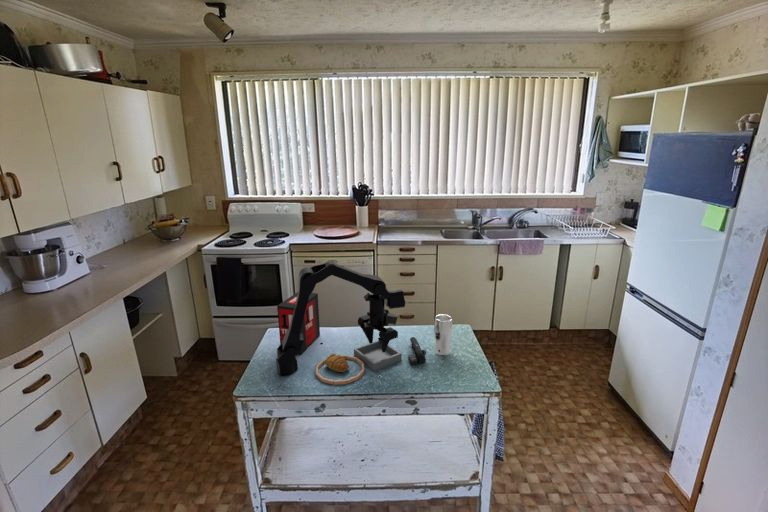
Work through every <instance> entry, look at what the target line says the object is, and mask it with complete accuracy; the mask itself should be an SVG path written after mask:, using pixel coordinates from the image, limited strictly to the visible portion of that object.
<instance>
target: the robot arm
mask: <svg viewBox="0 0 768 512" xmlns="http://www.w3.org/2000/svg"><path fill="white" fill-rule="evenodd" d="M331 276H334V277H336V278H339V279H341V280H344V281H347V282H349V283H352V284H355V285H358V286H360V287H362V288H364V289H365V290H366V291H367V293H366V294H365V295H364V296H363V299H364V301H365V302H368V303H369V304H368V306H369V308H368V309H369V310H368V311H367V312H366V315H362V316H359V317H358V319H357V325H358V326H359V328H361V330H362V331H363V333H364V335H365V337H366V339H367V341H368V344H369V343H370V344H371V343H373V342H374V330H375V331H376V330H377V331H378V332H379V333H378V337H377V338H378V340H379V343H380V346H381V350H382V352H385V351H386V348H387V346H388V345H389V343H390V341H391V340H395V339H398V337H399V331H397V330H396V329H394V328H392V327H391V326H389V325H394V326H395V325H396V324H397V322H398V321H397V320H398V319H399V318H398V316H397V315H396V314H395V313H394V314H393V313H391V312H389V310H392V309H393V310H394V309H400V308H405V306H406V300H405V295H404V291H403V290H402V289H397V290H389V289H388V288H387V284H386V283H385V281H384V280H383V279H382V278H381V277H380V276H378V275H373V274H365V273H362V272H359V271H358V272H357V271H355V270H352V269H351V268H349V267H345V266H342V265H340V264H337V263H335V262H334V261H330V260H329V261H327V262H324V263H320V264H316V265H313V266H310V267H303V268H302V269H300V270H299V272H298V282H297V283H298V285H297V286H298V289H297V290H298V291H297V292H298V295H297V299H296V303H295V308H294V312H293V316H292V320H291V324H290V327H289V329H288V331H287V332H286V334H285V336H284V339H283V341H282V344H281V345H280V344H279V346H278V347H277V349H276V358H275V361H276V363H275V364H276V373H277V374H278V375H279V377H288V376H292V375H293V374H295V372H297V371H298V368H299V367H298V359H297V358H296V356H299V355H298V353H299V350H300V351H301V346H302V344H303V341H304V340H303V334H302V333H300V331H301V327H302V323H303V319H304V315H305V311H306V307H307V303H308V299H309V296H310V295H311V293H314V289H315V287H316V285H317V284H319V283H321V282H323V281H324V280H326V279H327V278H330V277H331ZM385 307H386V308H387V307H388V309H389V310H388V309H386V308H385ZM388 326H389V327H388ZM378 340H377V341H378Z"/></svg>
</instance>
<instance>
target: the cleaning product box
mask: <svg viewBox="0 0 768 512" xmlns="http://www.w3.org/2000/svg"><path fill="white" fill-rule="evenodd" d="M297 295H298V291H296V293H294V294H292V295H291V296H290V297H288V298H286V299H285V300H284V301H282V302H280V303H279V304H277V305H276V309H277V320H278V331H279V342H280V343H279V346H280V345H281V344H282V341H283V339H284V336H285V334H286V332H287V331H288V329H289V327H290V324H291V320H292V316H293V312H294V308H295V303H296V299H297ZM319 311H320V310H319V294H318V293H316V292H312V293H311V295H310V296H309V299H308V303H307V307H306V311H305V315H304V319H303V323H302V327H301V331H300V333H302V334H303V340H304V341H303V344H302V346H301V351H300V350H299V353H298V355H297V356H302V355H303V353H305V352H306V350H308V349H309V348H310V346H312V345H313V343H314V342H316V340H317V339H318V338H320V337H321V331H320V330H321V329H320V327H321V326H320V313H319Z"/></svg>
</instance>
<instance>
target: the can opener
mask: <svg viewBox="0 0 768 512" xmlns="http://www.w3.org/2000/svg"><path fill="white" fill-rule="evenodd" d="M409 340H410V343H411V344H410V345H412V346H411V349H412V351H413V353H411V354H409V355H408V357H407V358H408V362H409V363H410V365H418V363H421V364H422V363H425V362H426V360H427V358H426V355H427V349H426V350H425V349H422V348H421V345H420V343H419V341H418V340H417V338H416V337H415V336H412V337H410V338H409Z"/></svg>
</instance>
